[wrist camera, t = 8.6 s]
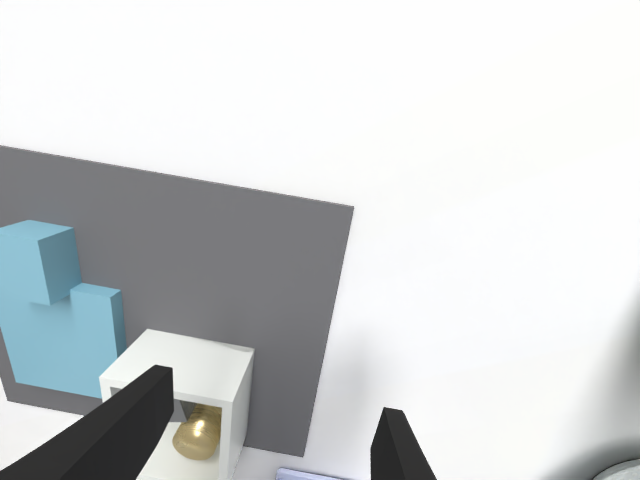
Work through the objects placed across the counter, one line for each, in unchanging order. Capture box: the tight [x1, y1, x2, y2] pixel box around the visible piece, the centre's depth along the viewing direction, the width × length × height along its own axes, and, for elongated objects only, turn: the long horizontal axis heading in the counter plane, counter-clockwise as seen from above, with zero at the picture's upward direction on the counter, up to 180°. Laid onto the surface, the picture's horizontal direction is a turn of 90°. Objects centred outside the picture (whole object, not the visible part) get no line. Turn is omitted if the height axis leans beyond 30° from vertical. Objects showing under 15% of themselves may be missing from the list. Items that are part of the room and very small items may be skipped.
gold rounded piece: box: [172, 403, 222, 460], centre depth 22 cm, size 3×3×3 cm
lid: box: [0, 220, 127, 399], centre depth 20 cm, size 14×9×2 cm, turn 171°
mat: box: [0, 145, 354, 457], centre depth 21 cm, size 22×26×1 cm
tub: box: [99, 329, 255, 480], centre depth 21 cm, size 9×8×4 cm
